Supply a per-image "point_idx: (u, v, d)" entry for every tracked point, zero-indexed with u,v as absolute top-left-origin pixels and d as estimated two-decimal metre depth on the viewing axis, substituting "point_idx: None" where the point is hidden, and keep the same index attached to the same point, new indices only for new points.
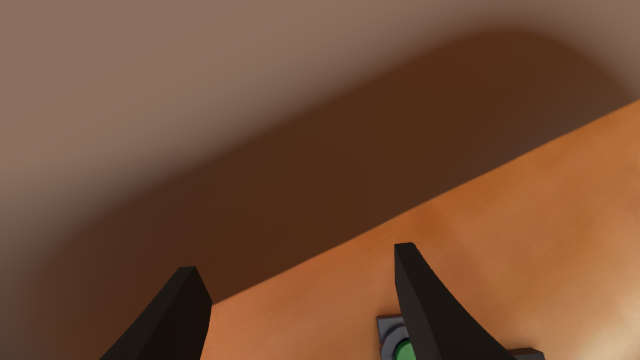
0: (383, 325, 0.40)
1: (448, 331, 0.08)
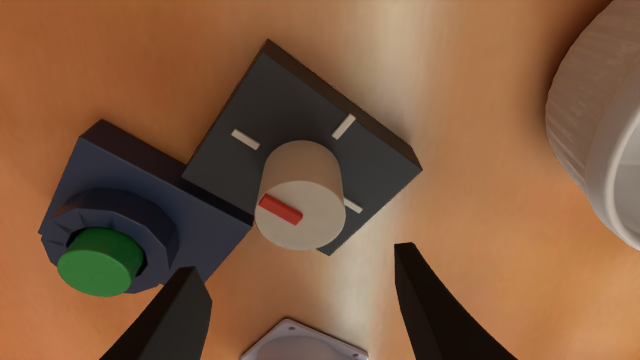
0: None
1: (448, 331, 0.08)
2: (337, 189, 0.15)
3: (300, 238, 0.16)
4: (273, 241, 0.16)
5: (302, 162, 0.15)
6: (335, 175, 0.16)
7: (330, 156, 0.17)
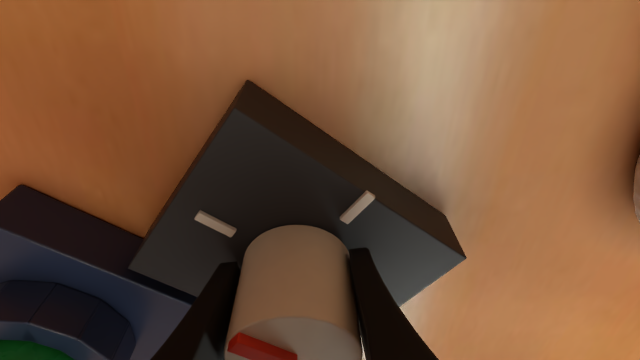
0: None
1: (383, 337, 0.08)
2: (350, 317, 0.10)
3: None
4: None
5: (296, 273, 0.10)
6: (346, 286, 0.11)
7: (338, 249, 0.12)
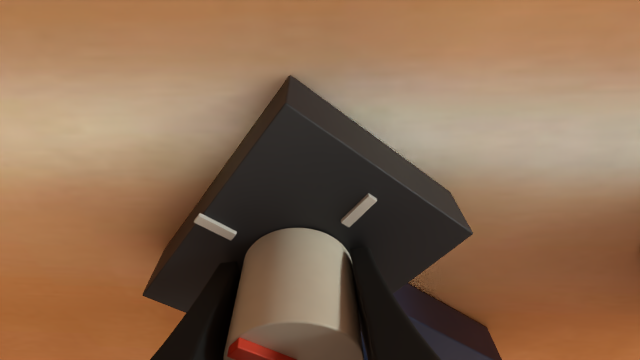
0: None
1: (385, 337, 0.08)
2: (351, 322, 0.10)
3: None
4: None
5: (297, 277, 0.10)
6: (347, 290, 0.11)
7: (339, 252, 0.12)
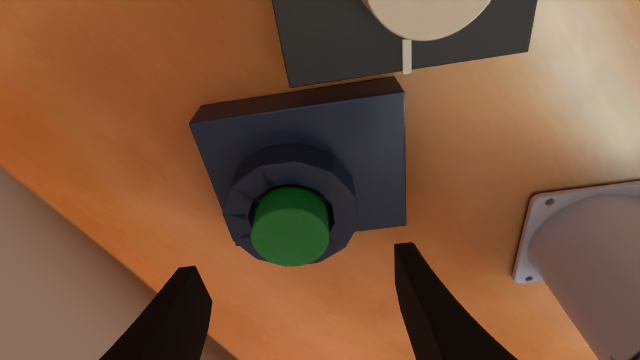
0: None
1: (448, 331, 0.08)
2: None
3: None
4: None
5: None
6: None
7: None
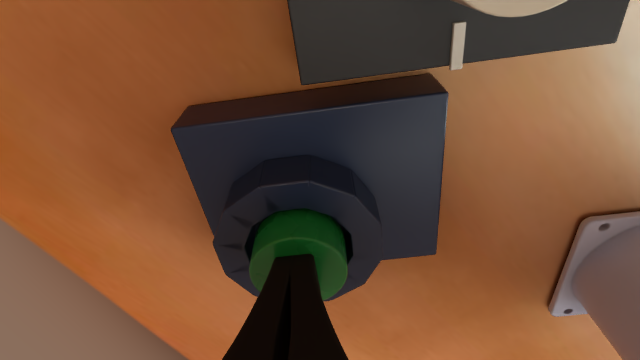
0: None
1: (304, 345, 0.09)
2: None
3: None
4: None
5: None
6: None
7: None
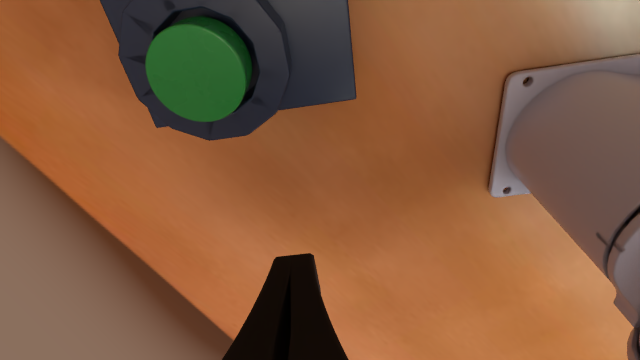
0: None
1: (304, 345, 0.09)
2: None
3: None
4: None
5: None
6: None
7: None
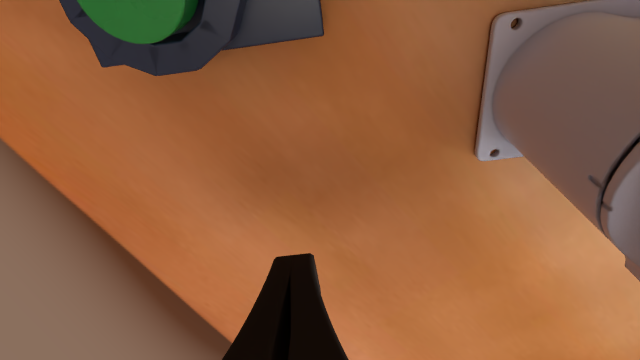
0: None
1: (304, 345, 0.09)
2: None
3: None
4: None
5: None
6: None
7: None
